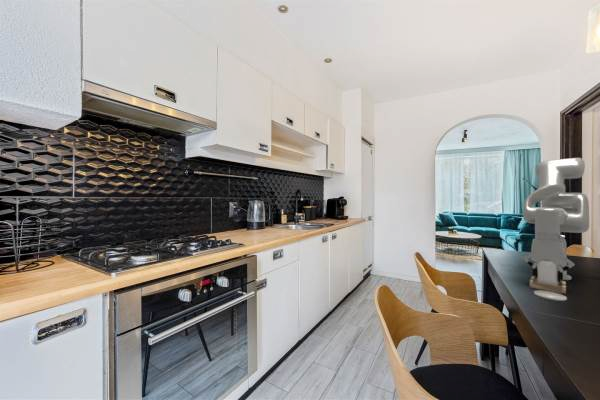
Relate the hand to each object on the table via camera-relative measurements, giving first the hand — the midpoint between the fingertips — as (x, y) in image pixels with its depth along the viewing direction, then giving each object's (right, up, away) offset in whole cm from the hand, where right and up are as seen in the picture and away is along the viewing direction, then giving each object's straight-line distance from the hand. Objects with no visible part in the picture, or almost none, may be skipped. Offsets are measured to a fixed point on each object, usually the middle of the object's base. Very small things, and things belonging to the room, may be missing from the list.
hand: (547, 278), depth 106 cm
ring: (0, -4, 0) cm, 4 cm away
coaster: (-9, -4, -10) cm, 13 cm away
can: (0, -4, 0) cm, 4 cm away
